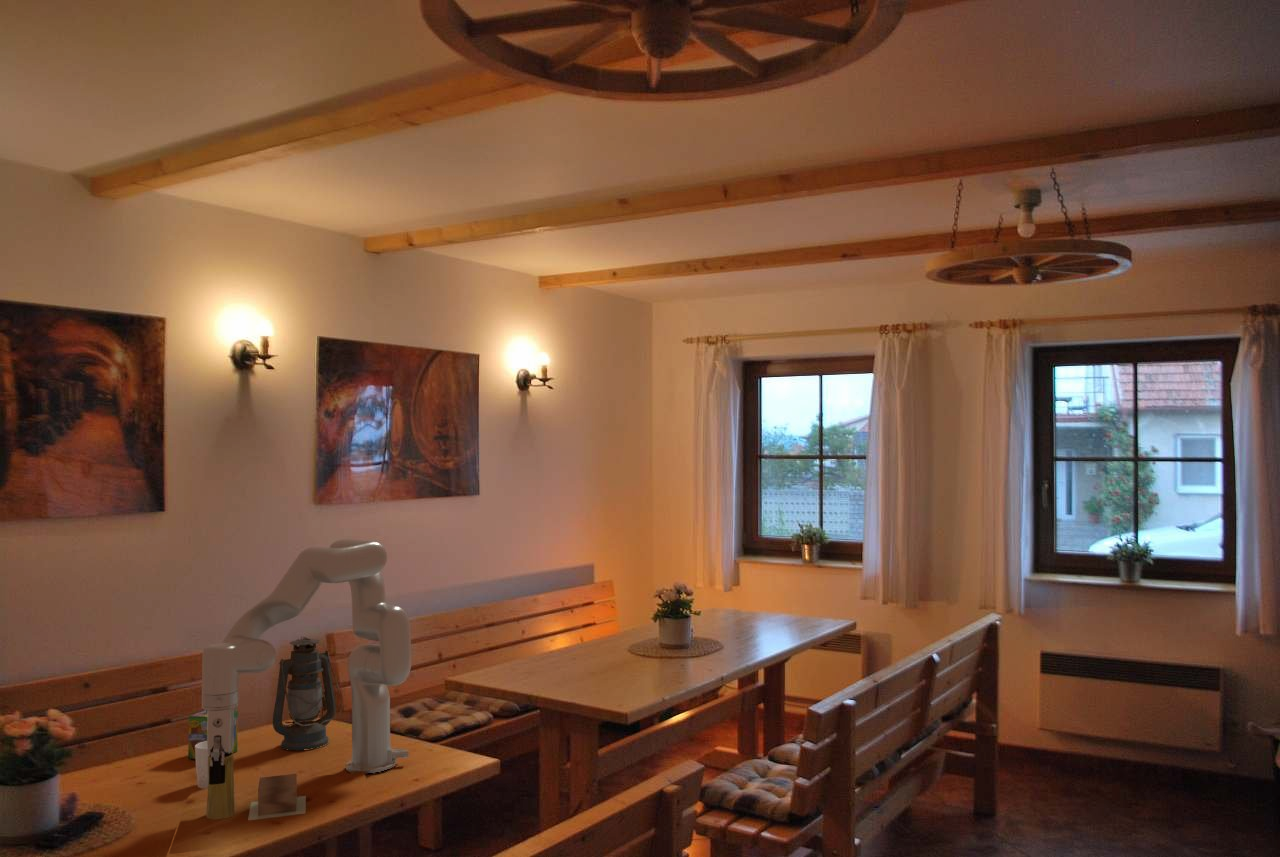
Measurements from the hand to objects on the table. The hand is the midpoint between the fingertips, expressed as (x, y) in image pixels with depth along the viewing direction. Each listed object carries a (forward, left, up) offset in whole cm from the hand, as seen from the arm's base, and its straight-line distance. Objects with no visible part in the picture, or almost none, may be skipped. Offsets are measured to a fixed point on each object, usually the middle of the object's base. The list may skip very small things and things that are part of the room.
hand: (219, 777), depth 220 cm
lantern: (-18, -53, -10) cm, 57 cm away
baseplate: (-12, 0, -9) cm, 15 cm away
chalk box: (+6, -52, -10) cm, 53 cm away
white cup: (+4, -26, -10) cm, 28 cm away
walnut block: (-12, 0, -8) cm, 15 cm away
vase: (0, 0, -10) cm, 10 cm away
